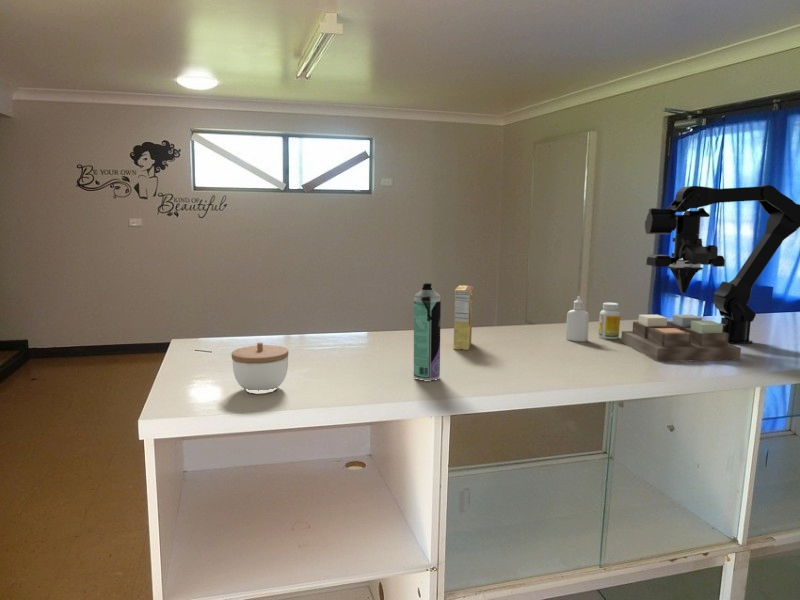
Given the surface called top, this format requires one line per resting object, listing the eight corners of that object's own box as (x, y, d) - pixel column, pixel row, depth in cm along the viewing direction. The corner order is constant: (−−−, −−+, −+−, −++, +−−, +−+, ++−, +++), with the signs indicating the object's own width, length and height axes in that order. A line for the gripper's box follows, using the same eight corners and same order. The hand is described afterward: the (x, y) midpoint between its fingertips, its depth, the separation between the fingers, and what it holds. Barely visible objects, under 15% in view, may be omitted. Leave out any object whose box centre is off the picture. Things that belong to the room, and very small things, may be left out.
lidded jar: (268, 401, 108) (266, 351, 107) (221, 394, 112) (219, 346, 111) (299, 385, 118) (298, 339, 116) (255, 379, 122) (254, 335, 121)
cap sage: (709, 332, 145) (711, 320, 145) (721, 336, 140) (722, 324, 140) (690, 332, 145) (691, 320, 145) (701, 337, 140) (702, 324, 140)
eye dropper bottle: (576, 337, 163) (578, 294, 161) (590, 341, 158) (592, 297, 156) (563, 338, 161) (565, 295, 160) (577, 343, 156) (579, 298, 155)
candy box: (456, 342, 157) (457, 285, 155) (472, 342, 156) (473, 285, 154) (453, 349, 149) (453, 289, 146) (469, 350, 148) (471, 289, 145)
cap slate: (690, 325, 154) (691, 314, 154) (701, 329, 149) (702, 317, 149) (672, 325, 154) (672, 314, 154) (681, 329, 149) (682, 317, 149)
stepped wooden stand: (694, 341, 158) (695, 319, 157) (739, 360, 138) (742, 335, 137) (621, 342, 157) (622, 320, 156) (656, 361, 138) (658, 335, 137)
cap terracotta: (673, 340, 145) (674, 328, 145) (684, 344, 140) (685, 332, 140) (653, 340, 145) (654, 328, 145) (663, 344, 140) (664, 332, 140)
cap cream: (657, 325, 154) (657, 314, 153) (666, 329, 149) (667, 317, 149) (638, 325, 154) (639, 314, 153) (647, 329, 149) (647, 318, 148)
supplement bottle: (594, 337, 164) (596, 303, 162) (605, 334, 167) (607, 301, 165) (612, 340, 159) (614, 305, 158) (622, 337, 163) (624, 303, 161)
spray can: (443, 380, 121) (444, 284, 118) (418, 382, 120) (419, 285, 117) (434, 373, 127) (435, 281, 124) (410, 375, 125) (410, 282, 122)
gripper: (667, 235, 147) (663, 297, 150) (740, 235, 148) (734, 297, 150) (647, 233, 158) (643, 291, 161) (715, 234, 159) (710, 291, 161)
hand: (682, 292), depth 158 cm, fingers closed
